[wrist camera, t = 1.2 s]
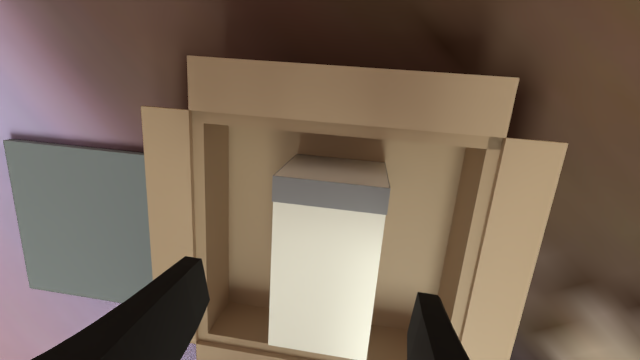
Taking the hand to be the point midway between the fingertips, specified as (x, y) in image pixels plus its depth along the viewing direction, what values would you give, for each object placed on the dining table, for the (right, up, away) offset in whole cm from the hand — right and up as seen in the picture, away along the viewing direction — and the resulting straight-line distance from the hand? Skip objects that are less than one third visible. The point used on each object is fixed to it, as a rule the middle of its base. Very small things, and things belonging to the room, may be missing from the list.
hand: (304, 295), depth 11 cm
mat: (-15, +1, +12) cm, 19 cm away
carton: (+1, +1, +10) cm, 10 cm away
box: (+1, +1, +9) cm, 9 cm away
